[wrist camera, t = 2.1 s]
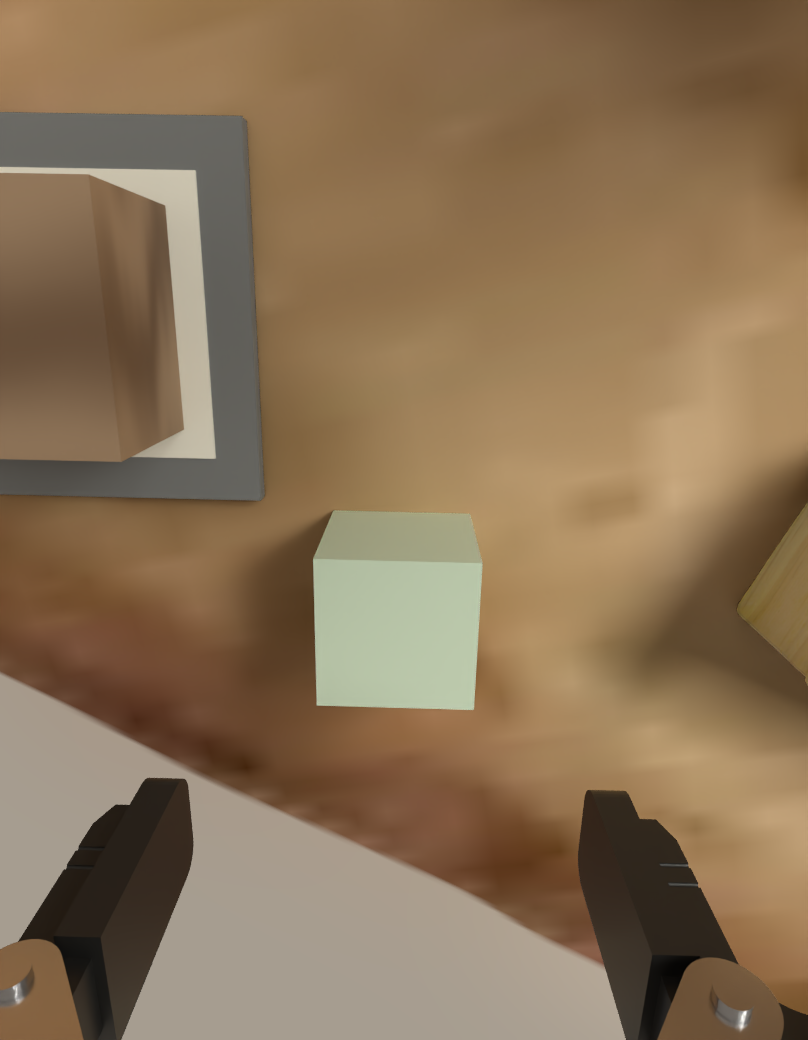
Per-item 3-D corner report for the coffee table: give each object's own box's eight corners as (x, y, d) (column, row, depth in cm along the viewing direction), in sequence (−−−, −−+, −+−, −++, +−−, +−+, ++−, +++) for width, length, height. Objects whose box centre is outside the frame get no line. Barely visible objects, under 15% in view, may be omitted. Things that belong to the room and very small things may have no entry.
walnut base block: (-58, 201, 21) (-202, 169, 16) (165, 205, 20) (88, 174, 16) (-19, 425, 23) (-135, 456, 18) (183, 429, 23) (121, 461, 18)
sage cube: (333, 509, 24) (313, 558, 19) (469, 513, 24) (482, 563, 19) (335, 631, 26) (316, 705, 21) (463, 635, 26) (473, 709, 21)
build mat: (-138, 115, 20) (-157, 108, 20) (246, 121, 20) (240, 115, 20) (-62, 488, 24) (-76, 493, 24) (264, 496, 24) (260, 501, 23)
